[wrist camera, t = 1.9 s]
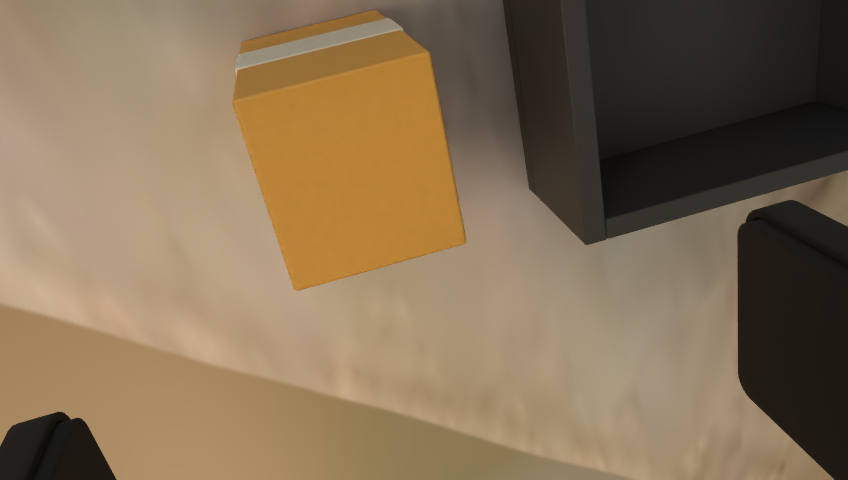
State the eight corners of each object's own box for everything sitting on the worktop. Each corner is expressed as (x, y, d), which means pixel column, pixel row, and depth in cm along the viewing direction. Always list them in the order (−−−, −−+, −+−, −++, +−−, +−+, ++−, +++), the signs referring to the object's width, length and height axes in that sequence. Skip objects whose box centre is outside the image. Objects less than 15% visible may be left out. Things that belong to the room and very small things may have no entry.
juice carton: (238, 40, 25) (228, 99, 17) (377, 7, 25) (432, 48, 17) (283, 184, 27) (293, 294, 19) (408, 151, 28) (469, 245, 20)
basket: (528, 189, 30) (586, 246, 24) (486, -112, 24) (547, -120, 19) (817, 109, 31) (929, 147, 26) (836, -192, 26) (980, -220, 21)
